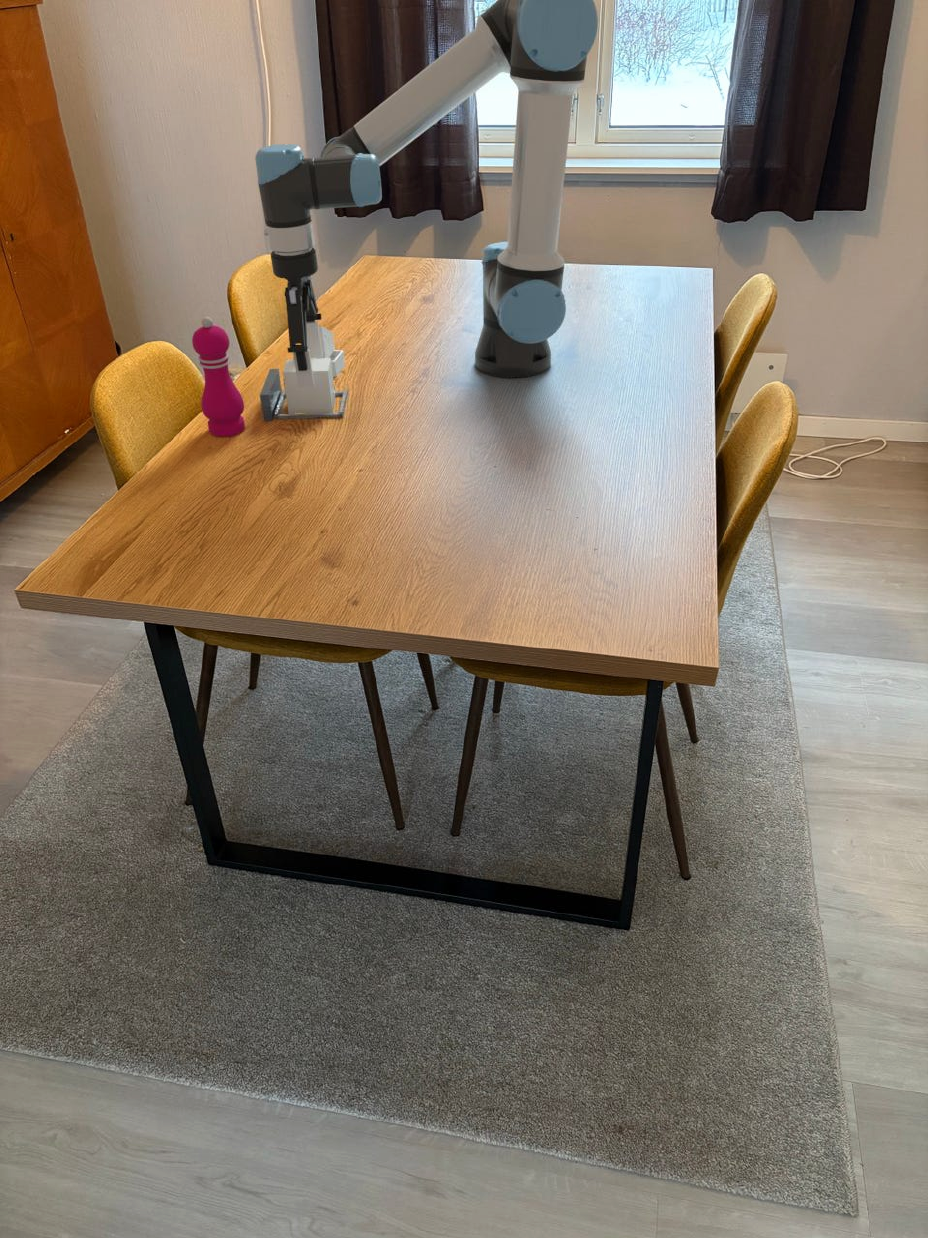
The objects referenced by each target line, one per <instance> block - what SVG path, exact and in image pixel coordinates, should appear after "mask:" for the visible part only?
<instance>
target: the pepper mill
mask: <svg viewBox="0 0 928 1238" xmlns="http://www.w3.org/2000/svg"><path fill="white" fill-rule="evenodd" d="M201 325H202V326H201V327H199V328H198V329H196V330H195V331H194V332H193V333H192V334H193V336H192V338H191V340H192V341H191V343H192V347H193V349H194V352H196V353H197V354H198V355H199V356H198V359H197V360H198V361H199V366H200V367H201V368H202V369H203V373H204V374H203V375H204V386H203V392H202V395H201V412H202V414H203V416H204V417H206V419H208V421H207V426H208V432H209V434H210V435H212V436H214V437H218V438H229V437H235V436H237V435H239V434H241V433H242V432H244V431H245V429H246V424H245V419H244V417H243V415H242V414H243V412H244V410H245V402H244V400H243V396H242V395H241V393H240V391H239V390H238V388H237V386H236V385H235V383H234V382H233V379H232V377H231V374H230V371H229V364H230V362H231V360H230V358H229V357H230V354H229V353H228V352H227V351H228V350H229V347H230V337H229V335H228V333H227V331H226V330H224V328H223V327H220V326H218V325H214V322H213V319H212V317H211V318H210V317H209V316H205V317H203V318H202V320H201Z"/></svg>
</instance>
